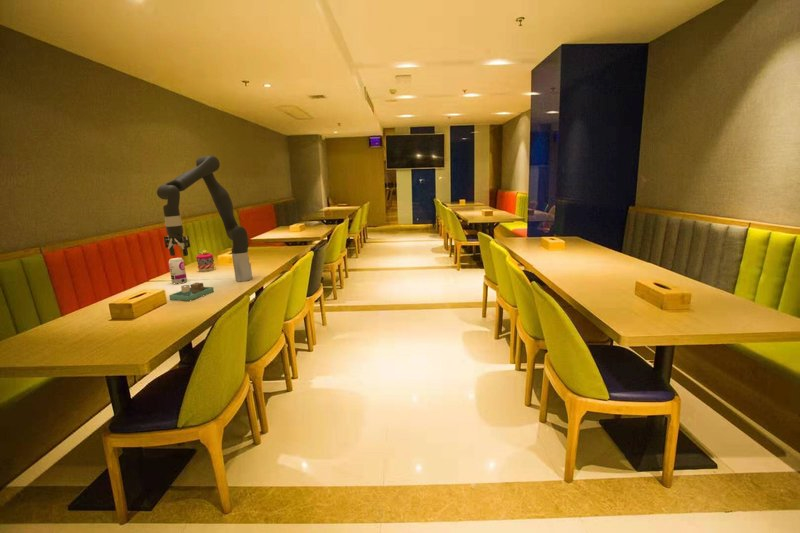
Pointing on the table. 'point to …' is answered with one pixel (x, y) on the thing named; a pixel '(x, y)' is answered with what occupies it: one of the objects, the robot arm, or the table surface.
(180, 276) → the supplement can
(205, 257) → the cake
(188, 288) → the metal peg
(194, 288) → the walnut block
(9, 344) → the table surface
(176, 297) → the tray
